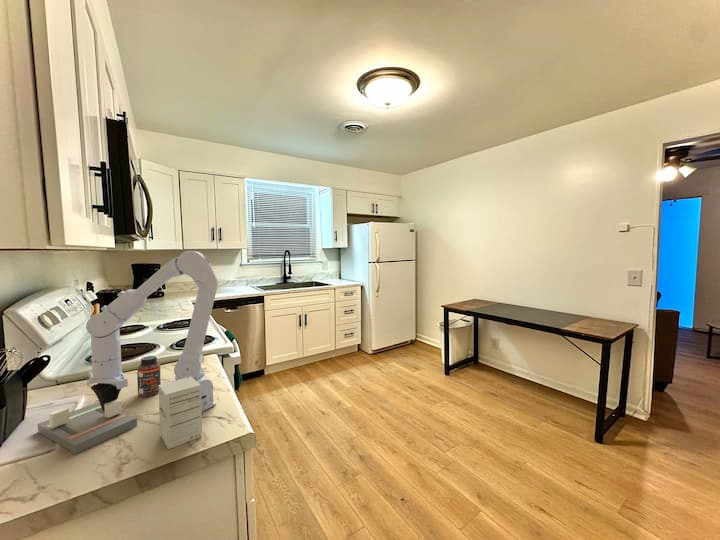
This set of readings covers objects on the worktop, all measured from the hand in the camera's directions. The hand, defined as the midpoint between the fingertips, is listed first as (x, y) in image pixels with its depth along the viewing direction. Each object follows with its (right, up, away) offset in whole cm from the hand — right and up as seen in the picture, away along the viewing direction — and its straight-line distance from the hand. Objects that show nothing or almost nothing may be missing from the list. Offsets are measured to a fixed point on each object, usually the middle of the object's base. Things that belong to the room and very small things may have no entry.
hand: (109, 410), depth 77 cm
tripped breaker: (+2, -1, -1) cm, 2 cm away
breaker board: (-3, -3, -3) cm, 5 cm away
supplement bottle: (-1, -3, +16) cm, 16 cm away
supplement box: (+23, -3, -6) cm, 24 cm away
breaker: (-7, -1, -5) cm, 9 cm away
